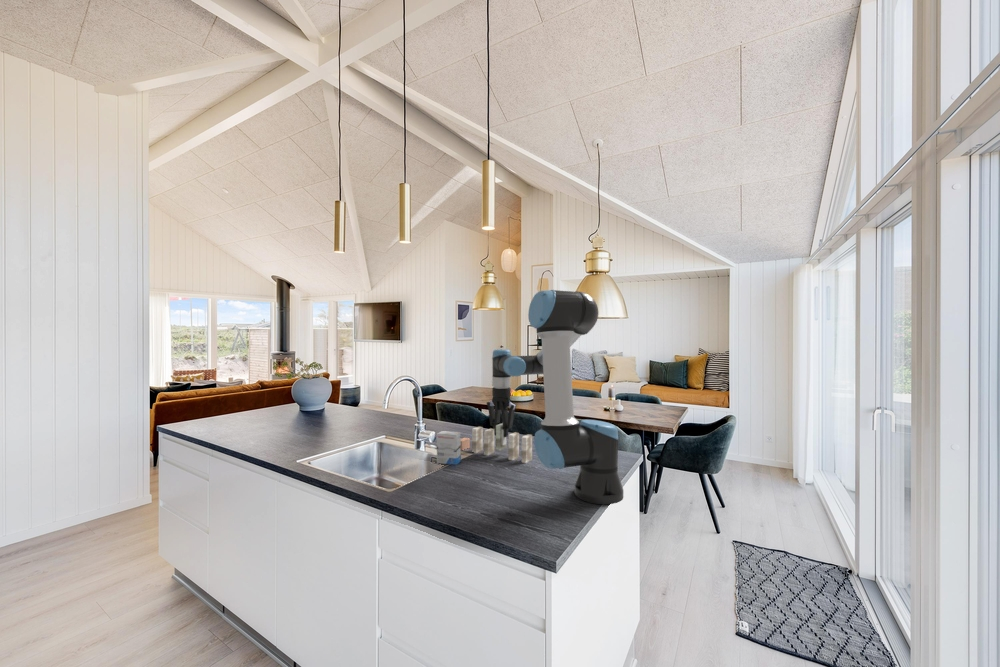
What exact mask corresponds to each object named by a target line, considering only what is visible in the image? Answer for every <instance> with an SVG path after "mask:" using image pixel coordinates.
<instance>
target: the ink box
mask: <svg viewBox="0 0 1000 667" xmlns="http://www.w3.org/2000/svg"><path fill="white" fill-rule="evenodd" d="M435 434H436V463H437V464H443V465H444V464H445V465H454V466H457V465H458V464H459V463H460V462H461V461H462V454H461V453H462V450H461V439H462V437H461V432H460V431H450V430H449V431H448V430H447V431H446V430H441V431H440V432H438V433H435Z"/></svg>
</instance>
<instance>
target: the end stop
mask: <svg viewBox="0 0 1000 667" xmlns="http://www.w3.org/2000/svg"><path fill="white" fill-rule="evenodd" d="M470 445H471V439H470V438H469V437H461V451H462V450H463V451H465V450H467V448H468V449H470V448H471V446H470ZM464 449H465V450H464Z"/></svg>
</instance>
